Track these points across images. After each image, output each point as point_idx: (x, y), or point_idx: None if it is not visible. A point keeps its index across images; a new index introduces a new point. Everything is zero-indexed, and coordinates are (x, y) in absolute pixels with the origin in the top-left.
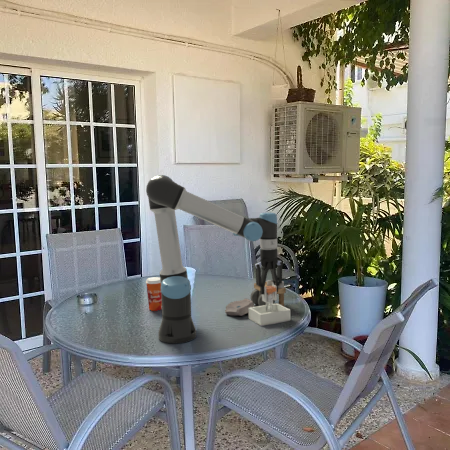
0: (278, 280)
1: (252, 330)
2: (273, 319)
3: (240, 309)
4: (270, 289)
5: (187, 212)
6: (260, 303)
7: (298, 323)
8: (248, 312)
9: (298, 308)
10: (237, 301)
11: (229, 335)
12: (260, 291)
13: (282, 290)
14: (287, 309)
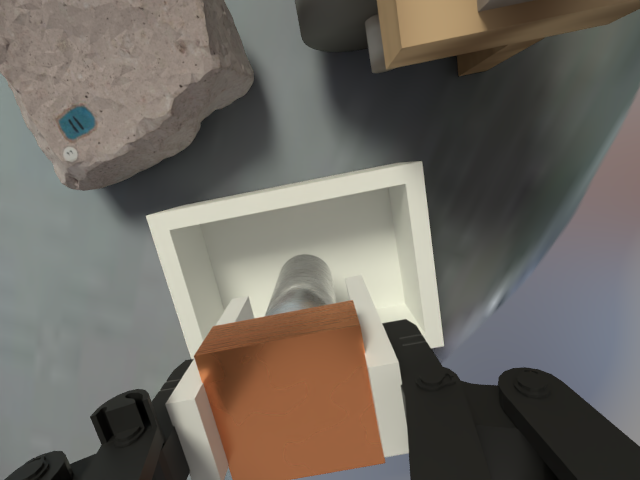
0: (532, 451)
1: None
2: None
3: (96, 171)
4: (288, 469)
5: None
6: (304, 38)
7: (439, 358)
8: (183, 149)
9: (590, 87)
10: (62, 4)
11: (39, 423)
12: (166, 384)
13: (593, 16)
14: (426, 336)
